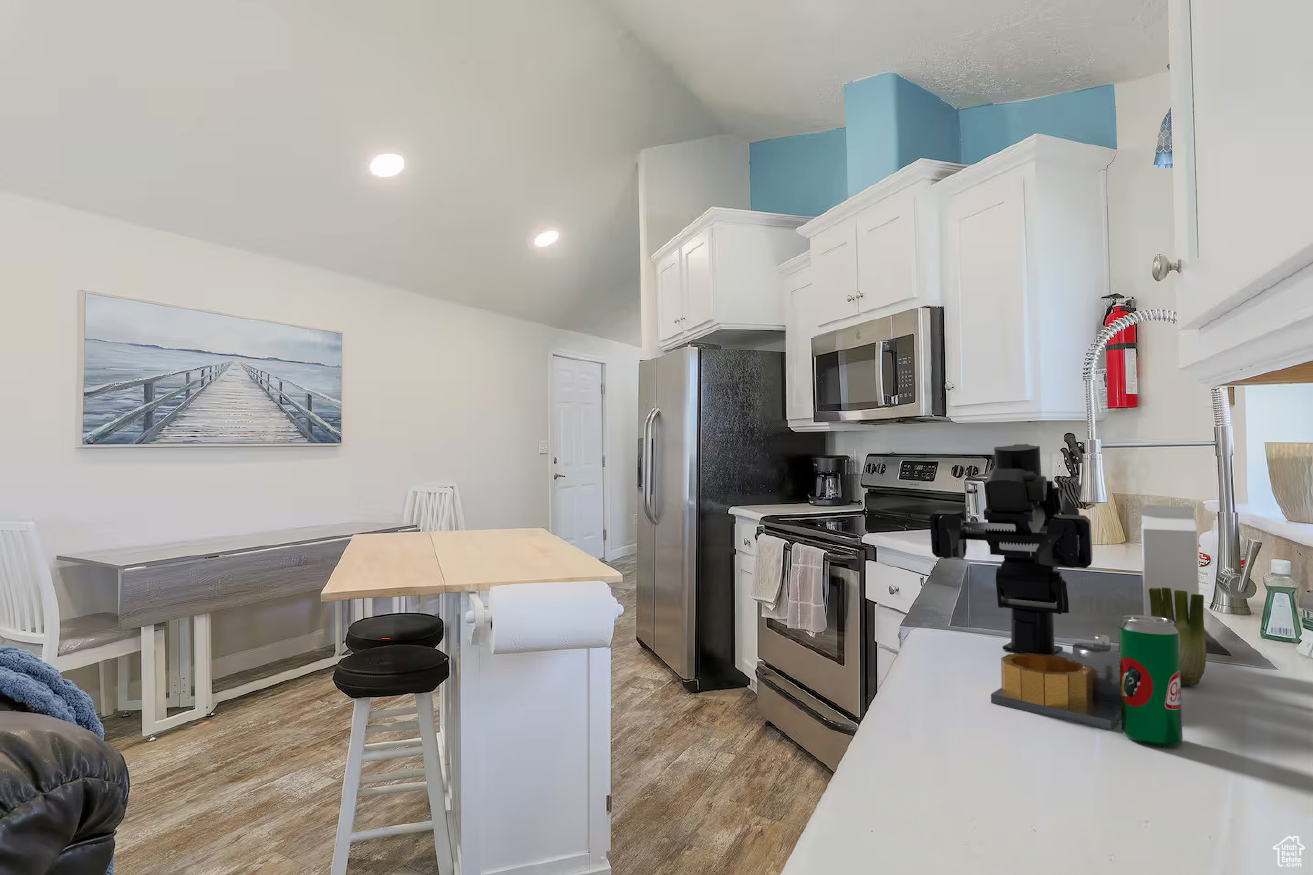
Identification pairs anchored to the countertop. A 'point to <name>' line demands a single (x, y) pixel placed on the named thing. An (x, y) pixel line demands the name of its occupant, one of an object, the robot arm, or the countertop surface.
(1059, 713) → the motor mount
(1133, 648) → the soda can
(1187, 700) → the countertop surface
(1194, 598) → the fennel bulb
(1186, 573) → the milk
